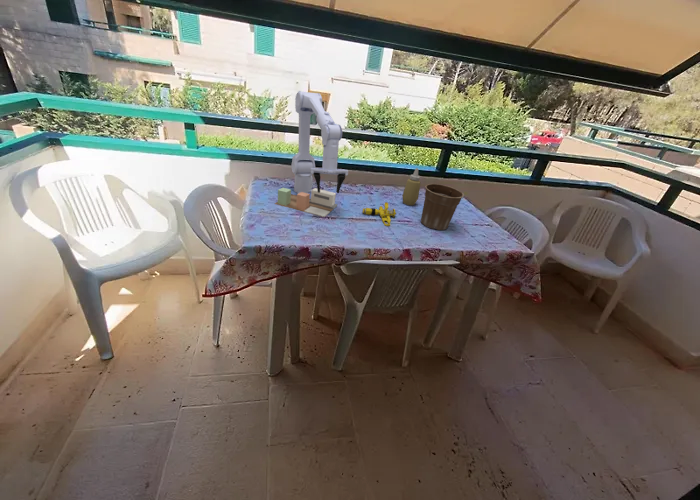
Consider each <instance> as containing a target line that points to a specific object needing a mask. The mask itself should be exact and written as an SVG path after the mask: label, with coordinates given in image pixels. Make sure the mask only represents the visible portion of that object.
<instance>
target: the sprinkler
mask: <svg viewBox="0 0 700 500" xmlns="http://www.w3.org/2000/svg"><path fill="white" fill-rule="evenodd" d="M383 207H384V208H383ZM362 214H364V215H365V216H366V215H369V216H370V215H371V216H378V215H379V216H380V218H381V222H382V223H383V225H384V227H390V226H391V221H392V220H391V217H392V218H393V219H394V218H395V217H396V215H397V212H396V209H395V208H392V209H391V210H390V209H389V203H388V202H387V201H386V202H384V206H382V205H380V206H379V208H378V209H377V208H373V207H372V208H369V207H365V208H362Z"/></svg>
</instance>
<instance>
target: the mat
mask: <svg viewBox="0 0 700 500" xmlns="http://www.w3.org/2000/svg"><path fill="white" fill-rule="evenodd" d="M306 212H307V213H306ZM304 213H306V214H311V215H315V216H317V215H318V217H321V216H322V218H326V217H327V216H328V215H329V214H330V213H331V212H330V211H327V210H323V209H319V208H315V207H312V206H310V207H309V208H307V209H306V210H305V211H304Z"/></svg>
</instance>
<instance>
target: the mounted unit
mask: <svg viewBox="0 0 700 500" xmlns="http://www.w3.org/2000/svg"><path fill="white" fill-rule="evenodd" d="M336 197H337V192H332V191H328V190H324V189H321V188H320V193H318V189H317V187H315V188H312V191H311V192H310V199H311V200H309V203H311V204H314V205H318V206H322V207H326V208H329V209H333V210H334V209H335V207H336V208H337V207H338V204H337V203H336Z"/></svg>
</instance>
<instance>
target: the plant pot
mask: <svg viewBox="0 0 700 500" xmlns="http://www.w3.org/2000/svg"><path fill="white" fill-rule="evenodd" d="M424 187H425V191H424V201H423V207H422V213H421V218H420V223H421V225H423V226H424V227H427V228H428V229H432V230H433V229H436V230H437V231H445V230H447V229H448V228H449V226H450V224H451V221H452V218H453V216H454V215H455V212H456V210H457V207H458V206H459V204H460V202H461V201H462V198H464V196H465V194H464V193H463V192H462V191H460V190H459V189H457V188H455V187H452V186H450V185H445V184H439V183H429V184H426V185H425V186H424Z"/></svg>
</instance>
